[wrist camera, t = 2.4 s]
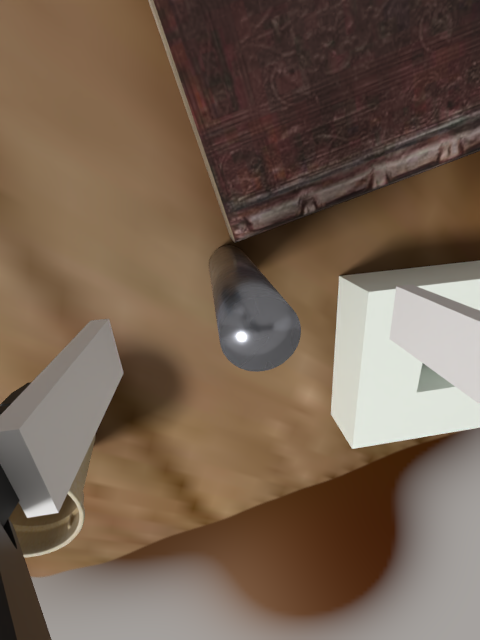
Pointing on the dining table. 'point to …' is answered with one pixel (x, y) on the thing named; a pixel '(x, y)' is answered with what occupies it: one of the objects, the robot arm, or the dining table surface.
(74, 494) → the flower pot
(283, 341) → the pin
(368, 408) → the bore block
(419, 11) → the hardback book
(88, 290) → the dining table surface
